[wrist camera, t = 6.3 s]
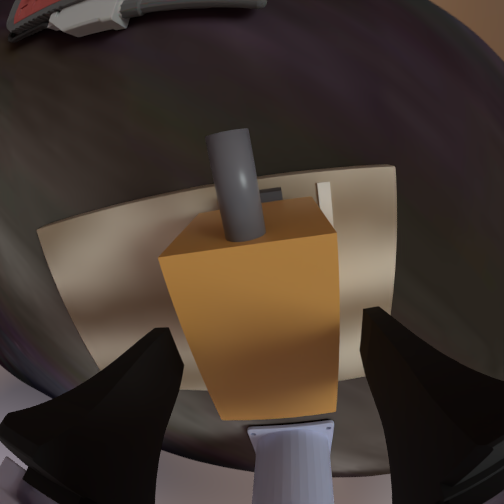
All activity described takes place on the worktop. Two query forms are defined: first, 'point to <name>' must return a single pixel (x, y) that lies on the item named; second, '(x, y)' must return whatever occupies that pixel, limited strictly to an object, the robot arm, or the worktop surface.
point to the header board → (176, 220)
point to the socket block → (258, 294)
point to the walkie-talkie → (97, 14)
